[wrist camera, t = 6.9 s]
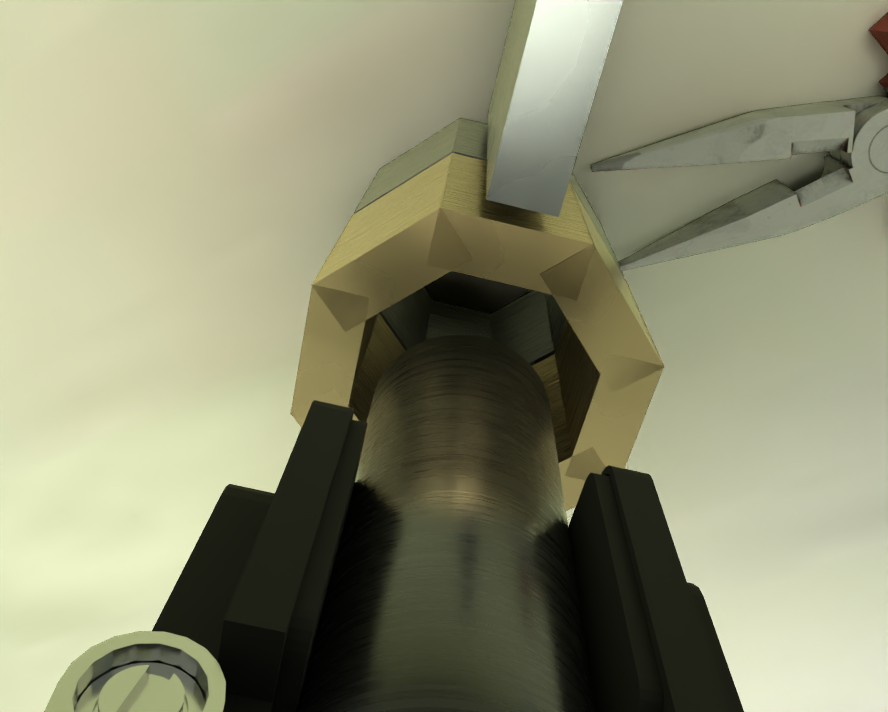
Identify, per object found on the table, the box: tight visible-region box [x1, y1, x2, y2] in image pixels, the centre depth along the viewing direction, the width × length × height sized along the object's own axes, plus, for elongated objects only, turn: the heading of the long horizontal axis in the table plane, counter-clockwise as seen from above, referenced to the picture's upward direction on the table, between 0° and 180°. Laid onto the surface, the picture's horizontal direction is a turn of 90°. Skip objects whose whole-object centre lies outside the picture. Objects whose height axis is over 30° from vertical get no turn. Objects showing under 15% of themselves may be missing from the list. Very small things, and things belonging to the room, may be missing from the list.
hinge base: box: [354, 0, 624, 366], centre depth 17 cm, size 6×16×9 cm, turn 167°
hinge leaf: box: [290, 153, 664, 510], centre depth 20 cm, size 6×16×9 cm, turn 167°
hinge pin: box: [296, 335, 596, 712], centre depth 8 cm, size 3×3×12 cm
